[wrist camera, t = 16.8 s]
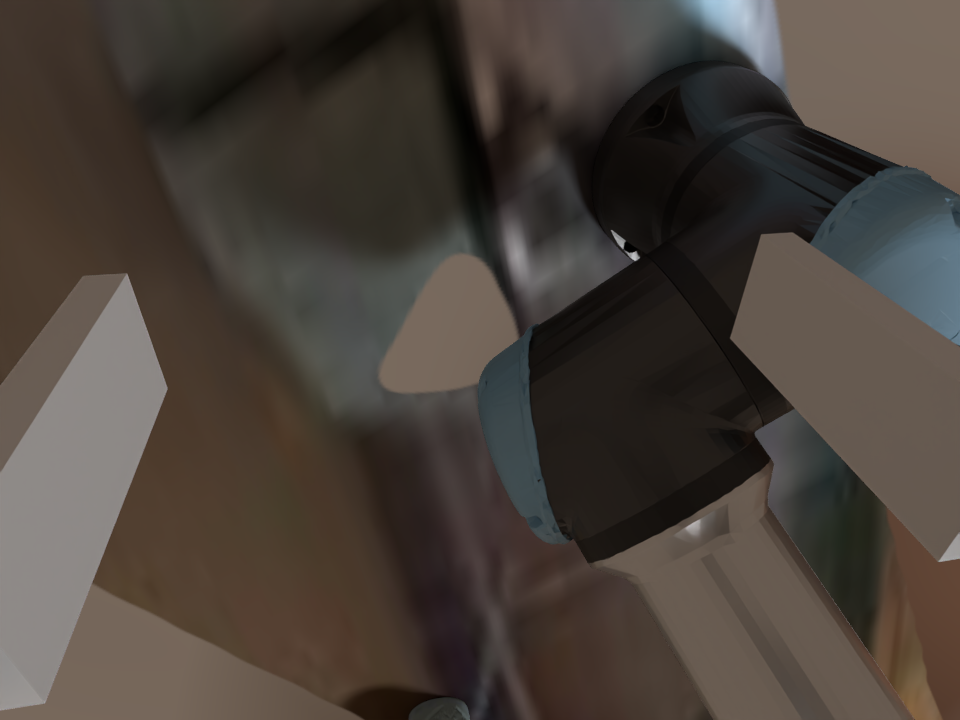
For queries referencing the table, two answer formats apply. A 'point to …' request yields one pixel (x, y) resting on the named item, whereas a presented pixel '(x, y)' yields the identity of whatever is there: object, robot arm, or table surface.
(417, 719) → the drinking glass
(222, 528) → the table surface
